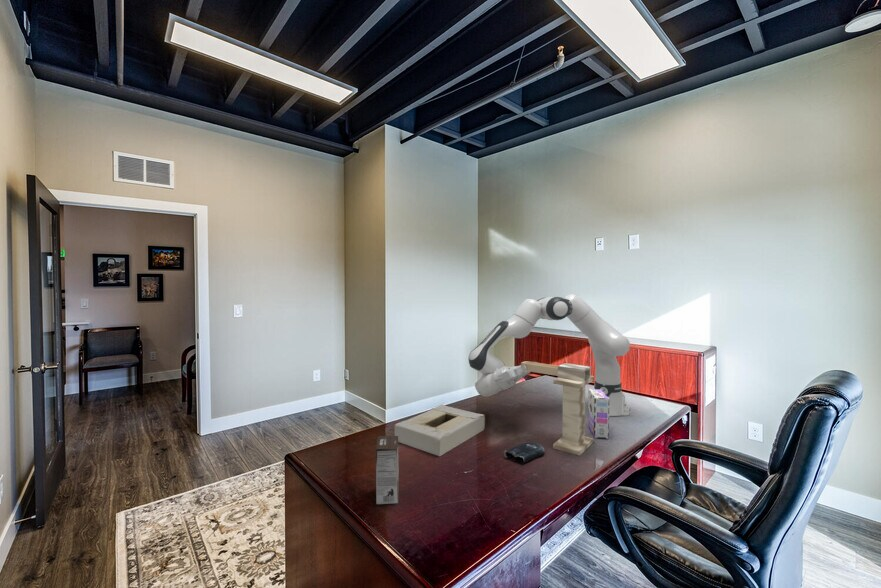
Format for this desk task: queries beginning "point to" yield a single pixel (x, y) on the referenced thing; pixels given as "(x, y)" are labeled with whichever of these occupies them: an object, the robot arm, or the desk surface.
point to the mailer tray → (541, 368)
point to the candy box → (598, 413)
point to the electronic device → (525, 451)
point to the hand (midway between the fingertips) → (531, 365)
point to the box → (439, 429)
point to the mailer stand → (573, 407)
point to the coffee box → (387, 470)
